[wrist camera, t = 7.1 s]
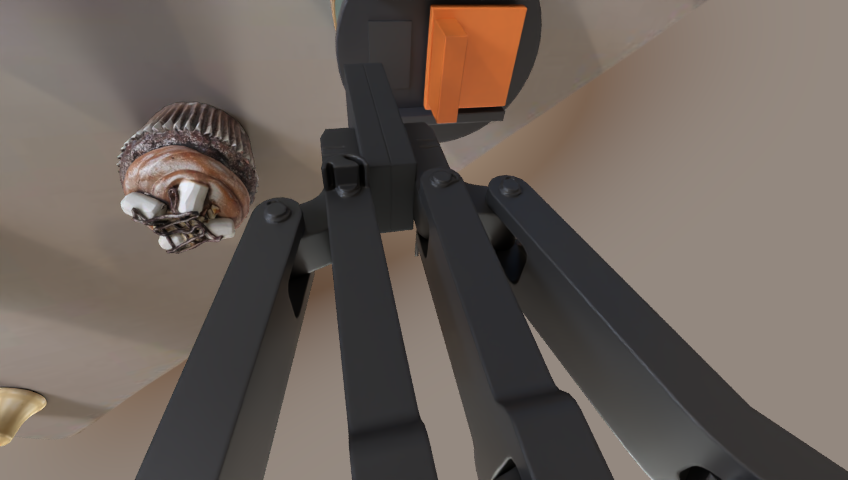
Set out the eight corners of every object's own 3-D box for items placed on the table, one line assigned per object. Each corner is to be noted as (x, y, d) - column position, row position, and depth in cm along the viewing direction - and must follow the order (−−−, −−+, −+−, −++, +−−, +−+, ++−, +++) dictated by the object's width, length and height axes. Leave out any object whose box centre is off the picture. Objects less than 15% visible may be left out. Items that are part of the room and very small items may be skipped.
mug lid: (344, 141, 23) (346, 159, 22) (323, -84, 16) (325, -74, 15) (510, 131, 25) (520, 147, 24) (562, -74, 18) (580, -65, 17)
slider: (423, 105, 21) (433, 131, 20) (430, 4, 18) (443, 25, 16) (502, 101, 22) (518, 126, 20) (523, 4, 19) (545, 24, 17)
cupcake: (284, 161, 38) (282, 240, 31) (195, 202, 39) (175, 285, 32) (209, 70, 31) (185, 146, 24) (103, 123, 32) (53, 209, 25)
